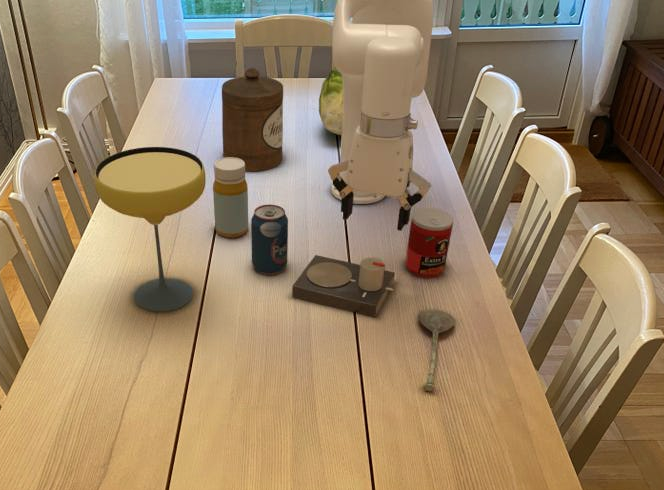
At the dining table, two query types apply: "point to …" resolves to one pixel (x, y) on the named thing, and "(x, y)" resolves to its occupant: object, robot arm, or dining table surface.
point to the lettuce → (332, 102)
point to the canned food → (428, 241)
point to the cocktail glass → (153, 205)
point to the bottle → (230, 197)
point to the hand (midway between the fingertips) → (374, 221)
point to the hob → (343, 290)
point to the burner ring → (329, 275)
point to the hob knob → (371, 274)
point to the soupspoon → (435, 335)
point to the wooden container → (253, 120)
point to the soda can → (269, 239)
